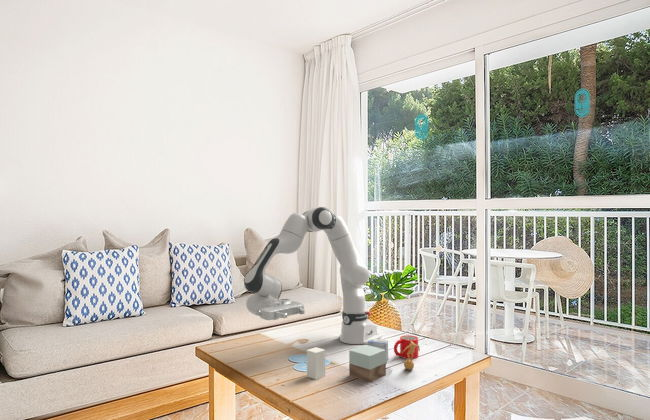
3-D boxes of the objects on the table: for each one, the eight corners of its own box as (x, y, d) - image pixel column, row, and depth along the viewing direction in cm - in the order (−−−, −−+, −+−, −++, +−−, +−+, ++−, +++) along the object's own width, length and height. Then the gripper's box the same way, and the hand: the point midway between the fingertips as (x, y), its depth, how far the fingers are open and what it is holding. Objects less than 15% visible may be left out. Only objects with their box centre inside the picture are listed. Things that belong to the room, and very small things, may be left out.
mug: (389, 356, 186) (388, 338, 186) (410, 351, 192) (410, 334, 192) (400, 361, 179) (400, 342, 180) (422, 356, 185) (422, 338, 185)
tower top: (365, 357, 171) (365, 344, 171) (385, 362, 164) (385, 349, 164) (349, 363, 164) (349, 350, 164) (369, 369, 157) (369, 356, 157)
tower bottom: (365, 369, 171) (365, 356, 171) (385, 375, 164) (385, 362, 164) (349, 376, 164) (349, 363, 164) (369, 383, 157) (369, 369, 157)
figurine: (414, 366, 173) (414, 336, 173) (423, 371, 168) (423, 340, 168) (397, 369, 170) (397, 339, 170) (405, 374, 164) (405, 343, 165)
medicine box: (388, 360, 181) (388, 339, 181) (386, 363, 177) (386, 342, 177) (370, 358, 183) (370, 338, 184) (367, 361, 179) (367, 341, 179)
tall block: (316, 372, 167) (315, 347, 167) (325, 376, 164) (325, 349, 164) (306, 376, 164) (306, 350, 164) (315, 379, 160) (315, 352, 160)
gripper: (253, 305, 175) (274, 310, 165) (291, 298, 189) (312, 302, 180) (253, 320, 175) (274, 326, 165) (291, 312, 189) (312, 317, 180)
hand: (294, 314), depth 172 cm, fingers open, 8 cm apart
